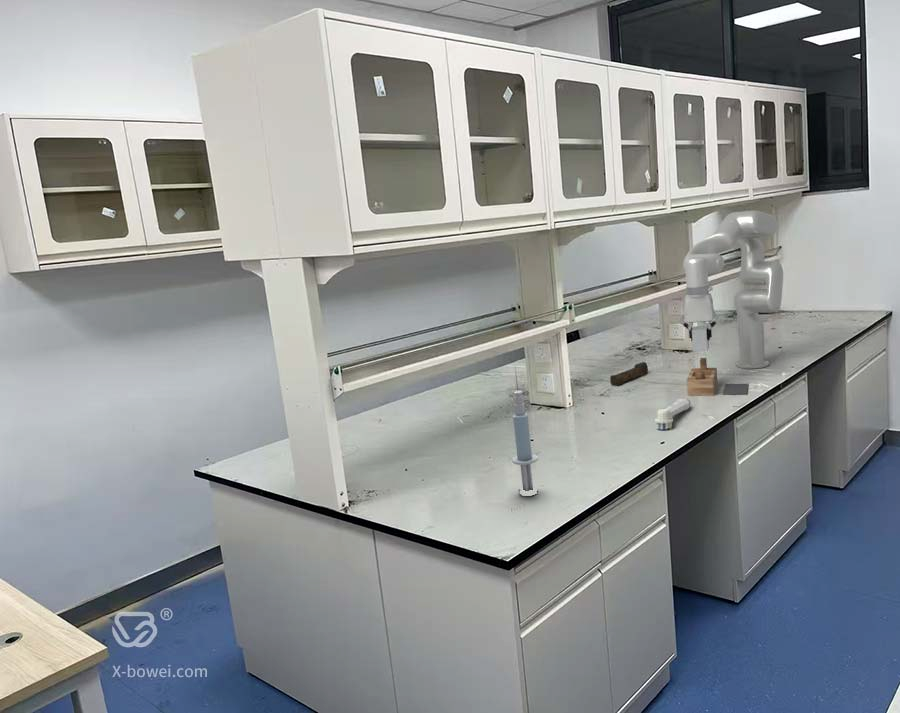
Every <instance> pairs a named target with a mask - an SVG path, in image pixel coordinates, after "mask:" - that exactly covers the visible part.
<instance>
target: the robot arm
mask: <svg viewBox="0 0 900 713" xmlns="http://www.w3.org/2000/svg"><path fill="white" fill-rule="evenodd" d="M778 229H779V224H778V220H777V218H776V217H775V216H774V215H773V214H770V213H767V212H763V211H760V210H744V211H734V212H730V213H729V214H727V215H726V216H725V217H724V219H723V220H722V222H721V223H720V225H719V226H718V227H717V229H716V230H715V232H714V233H713V234H711V235H709V236H708V237H706V238H704V239H702V240H700V241H699V242H697V243H696V244H694V245H693V246H692V247H691V248H690V250H689V251H688V252H687V254H686V256H685V257H684V260H683V264H682V265H683V266H682V267H683V270H684V272H685V283H686V284H685V287H686V295H684V302H683V303H684V304H683V308H684V311H683V312H684V313H683V314H682V315H681V317H680V318H679V320H678V323H679V324H681V325H682V326H683V327H684V328H685V329H686V330H687V331H688V337H689V339H690V341H691V342H693V341H692V329H693V324H694V323H706V326H707V327H708V328H707V340H709V341H710V340H711V338H712V337H713V334H712V329H713V327H715V326H716V325H717V323H719V322H720V321H721V319H722V318H721V317H720V316H719V315H718V314H717V313H716V312H715V309H714V301H713V296H712V293H710V292H711V291H712V292H713V290H714V289H713V288H714V287H713V286H709V276H708V275H716V274H719V273H720V272H721V271H722V270H723V268H725V260H724V258H723V256H722V255H721V254H723V253H725V252H726V251H729V250H730V249H732V248H733V247H734V246H735V244H736V243H737V242H738V244H739V246H740V250H741V259H740V262H741V263H740V277H739V278H740V281H741V283H742V284H744V285H748V286H766V288H755V287H753V288H742V289H740V290H738V291H736V293H735V294H734V296H733V297H734V298H733V302H734V308H735V311H736V318H737V334H738V337H737V338H738V353H739V354H738V357H739V360H738V361H736V362H735V366H736V367H737V368H738V369H739V368H740V369H748V370H751V369H752V370H753V369H761V368H767V367H768V366H770V362H769V361H768V360H765V359H766V358H765V356H766V355H765V334H764V333H765V332H764V331H765V330H764V329H765V328H764V321H763V318H762V317H761V315H760V314H759V313H762V314H763V313H764V314H765V313H767V314H768V313H776V312H778V311H779V310H780V308H781V306H782V300H783V298H782V297H783V285H784V269H783V266H782V264H781V263H780V262H779V261H776V260H765V256H766V255H765V254H766V252H765V251H766V250H765V246H764V244H763V242H762V241H761V240H760V239H759V238H771V237H773V236H774V235H775V234H776V233H777V231H778Z"/></svg>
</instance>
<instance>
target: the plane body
mask: <svg viewBox="0 0 900 713" xmlns="http://www.w3.org/2000/svg"><path fill="white" fill-rule="evenodd" d="M699 366H700V367H692V368H691V369H690V371H689V374H688V375H687V376H688V377H687V378H686V392H687V396H688V397H694V396H695V397H702V396H703V397H710V396H711V397H714V396H715V392H716V389H717V386H718V369H717V368H718V367H708V363H707V357H700V359H699Z"/></svg>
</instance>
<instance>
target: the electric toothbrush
mask: <svg viewBox="0 0 900 713" xmlns="http://www.w3.org/2000/svg"><path fill="white" fill-rule="evenodd" d="M690 407H691V401H690V400H689V399H688V398H687V397H686V398H678V399H677V400H676V401H675V402H673V403H672V404H671V405H669V406H667V407H666V408H665V409H664V408H663V409H662V408H661V409H658V410H657V416H656V418H655V419H654V423H655V429H657V430H667V429H669V430H671V429H672V428H673V427H672V426H673V422H674V419H673V418H672V417H674V416H677V415H679V414H680V413H682V412H683V411H684V413H685V412H686V411H687V410H688V409H689V408H690Z"/></svg>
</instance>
